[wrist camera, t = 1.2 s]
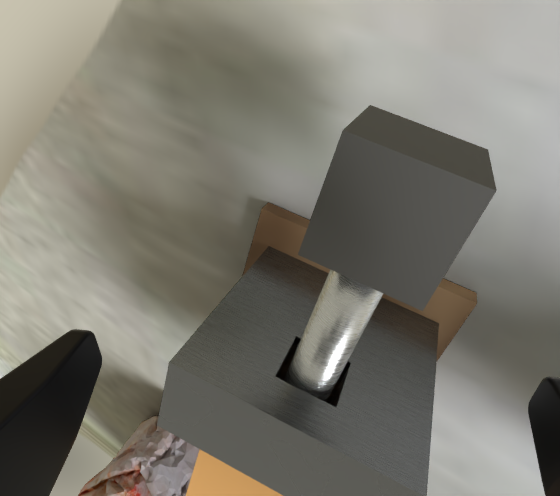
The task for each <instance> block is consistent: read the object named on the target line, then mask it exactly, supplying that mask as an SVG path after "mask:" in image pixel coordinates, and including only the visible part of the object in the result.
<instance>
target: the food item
mask: <svg viewBox="0 0 560 496" xmlns="http://www.w3.org/2000/svg"><path fill="white" fill-rule="evenodd" d="M157 422H158V416H154V417H151V418H150V419H148V420H145V421H143V422H142V423H141V424H140V425H139V426H138V427H137V429H136V431H135V432H134V433H133V434H132V436H131V437H130V438H129V439H128V440H127V441H126V443H125V444H124V445H123V447H122V448H121V449H120V451H119V452H118V454H117V456H116V457H115V458H113V460H112V461H111V462H110V463H109V464H108V465H107V467H106V468H105V469H103V470H102V471H101V472H99V473H98V474H97V475H96V476H94V477H93V478H92V479H91V480H90V481H89V482H88V483H86V484H85V485H84V487H83V488H82V490H81V491H80V493H79V495H78V496H186V493H187V490H188V486H189V483H190V480H191V476H192V473H193V470H194V466H195V463H196V460H197V457H198V453H199V450H200V449H199V448H197V447H195V446H193V445H191V444H190V443H188V442H186V441H184V440H182V439H181V438H179V437H177V436H175V435H173V434H172V433H170V432H168V431H166V430H164V429H163V428H161V427H159V426H157Z"/></svg>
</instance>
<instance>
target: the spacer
mask: <svg viewBox="0 0 560 496" xmlns="http://www.w3.org/2000/svg"><path fill="white" fill-rule="evenodd" d="M186 496H283V495H281V494H279V493H278V492H276V491H274V490H272V489H270V488H269V487H267V486H265V485H263V484H261V483H260V482H258V481H256V480H254V479H252V478H251V477H249V476H247V475H245V474H243V473H242V472H240V471H238V470H236V469H234V468H233V467H231V466H229V465H227V464H226V463H224V462H222V461H220V460H218V459H217V458H215V457H213V456H211V455H209V454H208V453H206V452H204V451H202V450H199V453H198V457H197V460H196V463H195V466H194V470H193V473H192V476H191V480H190V483H189V486H188V490H187V493H186Z"/></svg>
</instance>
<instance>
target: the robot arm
mask: <svg viewBox="0 0 560 496" xmlns="http://www.w3.org/2000/svg"><path fill="white" fill-rule="evenodd" d="M101 365H102V356H101V353H100V350H99V347H98V344H97V341H96V338H95V335H94V333H92V332H91V331H87V330H77V329H75V330H71V331H69V332H67V333H66V334H64V335H63V336H61V337H60V338H59V339H57V340H56V341H54V342H53V343H51V344H50V345H48V346H47V347H46V348H44V349H43V350H41V351H40V352H38V353H37V354H35V355H34V356H33V357H31V358H30V359H28V360H27V361H25V362H24V363H23V364H21V365H20V366H18V367H17V368H15V369H14V370H12V371H11V372H10V373H8V374H7V375H5V376H4V377H2V378H1V379H0V496H49V495H50V493H51V491H52V488H53V486H54V484H55V482H56V480H57V478H58V475H59V474H60V471H61V469H62V467H63V465H64V463H65V461H66V459H67V457H68V454H69V452H70V450H71V448H72V446H73V444H74V441H75V439H76V437H77V434H78V432H79V429H80V426H81V423H82V421H83V418H84V415H85V412H86V409H87V406H88V403H89V401H90V398H91V395H92V392H93V389H94V386H95V383H96V380H97V378H98V375H99V372H100V369H101ZM528 413H529V418H530V423H531V428H532V433H533V438H534V443H535V448H536V453H537V458H538V463H539V468H540V473H541V478H542V483H543V487H544V491H545V495H546V496H560V378H556V377H546V378H544V379H543V380H542V381H541V383H540V385H539V386H538V388H537V390H536V391H535V393H534V395H533V396H532V398H531V400H530V402H529V406H528Z"/></svg>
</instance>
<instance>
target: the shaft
mask: <svg viewBox="0 0 560 496" xmlns="http://www.w3.org/2000/svg"><path fill="white" fill-rule="evenodd" d="M495 192H496V186H495V181H494V177H493V172H492V167H491V162H490V158H489V153H488V150H487V149H485V148H482V147H480V146H477V145H474V144H472V143H469V142H466V141H464V140H461V139H458V138H456V137H453V136H450V135H448V134H445V133H443V132H440V131H437V130H435V129H432V128H429V127H427V126H424V125H421V124H419V123H416V122H413V121H411V120H408V119H406V118H403V117H400V116H398V115H395V114H392V113H390V112H387V111H384V110H382V109H379V108H377V107H374V106H371V105H370V106H369V107H368V108H367V109H365V110H364V111H363V112H362V113H361V114H360V115H359V116H358V117H357V118H356V119H355V120H354V121H352V122H351V123H350V124H349V125H348V126H347V127H346V128H345V129H344V130H343V131H342V134H341V137H340V140H339V142H338V145H337V148H336V151H335V153H334V156H333V159H332V162H331V164H330V167H329V170H328V173H327V175H326V178H325V181H324V184H323V186H322V189H321V192H320V195H319V197H318V200H317V203H316V206H315V208H314V211H313V214H312V217H311V219H310V222H309V225H308V228H307V230H306V233H305V236H304V239H303V241H302V244H301V247H300V250H299V252H298V255H299V256H302V257H304V258H306V259H308V260H310V261H313V262H315V263H317V264H319V265H321V266H324V267H326V268H328V269H330V272H329V274H328V277H327V279H326V281H325V284H324V286H323V288H322V291H321V293H320V295H319V298H318V300H317V302H316V305H315V307H314V310H313V312H312V314H311V317H310V319H309V321H308V324H307V326H306V328H305V331H304V333H303V335H302V338H301V340H300V343H299V345H298V347H297V350H296V352H295V354H294V357H293V359H292V361H291V364H290V366H289V368H288V371H287V373H286V376H285V378H284V380H283V381H285V382H287V383H289V384H291V385H293V386H295V387H297V388H299V389H301V390H303V391H305V392H307V393H309V394H311V395H313V396H315V397H317V398H319V399H320V400H322V401H324V402H326V401H327V399H328V397H329V396H330V394H331V392H332V390H333V388H334V386H335V384H336V382H337V380H338V379H339V377H340V375H341V373H342V371H343V369H344V367H345V365H346V363H347V361H348V360H349V358H350V356H351V354H352V352H353V350H354V348H355V346H356V344H357V343H358V341H359V339H360V337H361V335H362V333H363V331H364V329H365V327H366V326H367V324H368V322H369V320H370V318H371V316H372V314H373V312H374V310H375V309H376V307H377V305H378V303H379V301H380V299H381V297H382V295H383V294H386V295H388V296H390V297H392V298H394V299H397V300H399V301H401V302H403V303H405V304H408V305H410V306H412V307H414V308H416V309H419V310H421V311H423V310H424V308H425V307H426V305H427V303H428V302H429V300H430V299H431V297H432V295H433V294H434V292H435V290H436V289H437V287H438V285H439V284H440V282H441V281H442V279H443V277H444V276H445V274H446V272H447V271H448V269H449V267H450V266H451V264H452V263H453V261H454V259H455V258H456V256H457V254H458V253H459V251H460V249H461V248H462V246H463V245H464V243H465V241H466V240H467V238H468V236H469V235H470V233H471V231H472V230H473V228H474V227H475V225H476V223H477V222H478V220H479V218H480V217H481V215H482V213H483V212H484V210H485V209H486V207H487V205H488V204H489V202H490V200H491V199H492V197H493V195H494V194H495Z"/></svg>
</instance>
